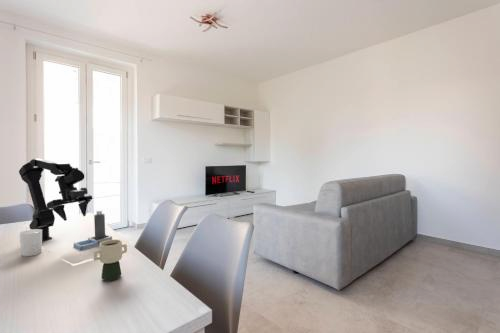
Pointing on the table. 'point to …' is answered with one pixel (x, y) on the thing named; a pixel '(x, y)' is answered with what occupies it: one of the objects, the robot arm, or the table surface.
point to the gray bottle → (99, 225)
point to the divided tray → (91, 242)
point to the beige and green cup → (110, 258)
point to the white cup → (31, 242)
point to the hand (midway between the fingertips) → (75, 218)
